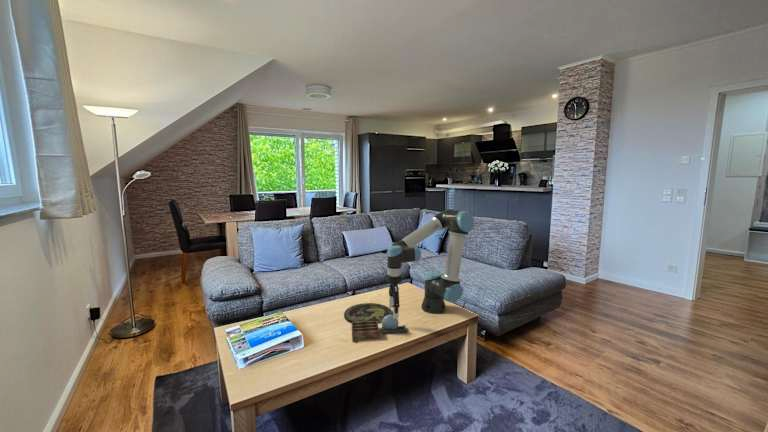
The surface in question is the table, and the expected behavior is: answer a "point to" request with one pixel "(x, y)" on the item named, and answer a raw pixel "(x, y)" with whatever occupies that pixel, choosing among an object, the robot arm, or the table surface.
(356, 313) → the decorative plate
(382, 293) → the table surface
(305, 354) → the table surface
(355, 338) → the dish rack
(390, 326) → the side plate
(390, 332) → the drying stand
